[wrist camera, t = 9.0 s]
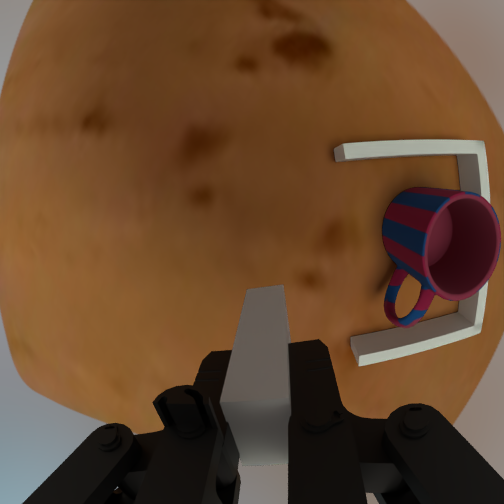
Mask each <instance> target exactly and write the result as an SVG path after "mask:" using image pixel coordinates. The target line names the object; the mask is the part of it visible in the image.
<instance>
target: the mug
mask: <svg viewBox="0 0 504 504" xmlns="http://www.w3.org/2000/svg"><path fill="white" fill-rule="evenodd" d="M382 236H383V243H384V246H385V249H386V251H387V253H388V255H389V256H390V258H391V259H392V260H393V261H394V262H395V263H396V264H397V268H396V270H395V271H394V274H393V276H392V278H391V280H390V283H389V285H388V288H387V291H386V295H385V299H384V311H385V314H386V316H387V318H388V319H389V320H390V321H391V322H392V323H393V324H394V325H396V326H398V327H401V328H410V327H412V326H414V325H415V324H416V323H418V322H419V321H420V319H421V318H422V317H423V316H424V314H425V313H426V311H427V310H428V308H429V306H430V304H431V302H432V300H433V298H434V295H438V296H440V297H442V298H443V299H446V300H450V301H459V300H464V299H466V298H469V297H471V296H472V295H474V294H475V293H477V292H478V291H479V290H480V289H481V288H482V287H483V286H484V285H485V284H486V283H487V281H488V280H489V278H490V277H491V275H492V273H493V271H494V269H495V267H496V264H497V261H498V258H499V253H500V246H501V231H500V225H499V221H498V218H497V215H496V213H495V211H494V209H493V207H492V206H491V204H490V203H489V202H488V201H487V200H486V199H485V198H484V197H482V196H481V195H479V194H477V193H473V192H468V191H459V190H449V189H439V188H427V187H414V188H409V189H407V190H405V191H403V192H402V193H400V194H399V195H398V196H397V197H396V198H395V199H394V200H393V201H392V202H391V204H390V205H389V207H388V209H387V211H386V214H385V217H384V220H383V227H382ZM408 274H410V275H411V276H413V277H414V278H415V279H417V280H418V281H419V282H420V283H421V285H422V286H421V291H420V296H419V299H418V301H417V303H416V305H415V306H414V308H413V309H412V311H411V312H410V313H409V314H408V315H407V316H405V317H403V318H398V317H397V315H396V313H395V300H396V297H397V293H398V291H399V288H400V286H401V284H402V282H403V281H404V279H405V277H406V276H407V275H408Z"/></svg>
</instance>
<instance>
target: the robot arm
mask: <svg viewBox="0 0 504 504" xmlns="http://www.w3.org/2000/svg"><path fill="white" fill-rule="evenodd" d="M198 372H199V373H197V376H196V379H195V382H194V384H193V386H192V385H182V386H176V387H173V388H170V389H167V390H165V391H164V392H163V393H161V394H160V395H158V396H157V397H156V399H155V400H154V401H153V405H154V407H155V409H156V411H157V413H158V415H159V417H160V419H161V421H162V422H163V424H164V426H165V427H164V429H163V430H161V431H157V432H152V433H145V434H138V435H134V434H133V433H132V431H131V429H130V428H128V427H127V426H125V425H124V424H119V423H111V424H106V425H103V426H101V427H99V428H97V429H96V430H95V431H93V432H92V433H91V434H90V435H89V436H88V437H87V438H86V439H85V440H84V441H83V442H82V443H81V445H80V446H79V447H78V448H77V449H76V450H75V451H74V452H73V453H72V454H71V455H70V456H69V457H68V458H67V459H66V460H65V461H64V462H63V463H62V464H61V465H60V466H59V467H58V468H57V469H56V470H55V471H54V472H53V473H52V474H51V475H50V476H49V477H48V478H47V479H46V480H45V481H44V482H43V483H42V484H41V485H40V487H38V488H37V489H36V490H35V491H34V492H33V493H32V494H31V495H30V496H29V497H28V498H27V499H26V500H25V501H24V502H23V504H238V499H239V491H240V484H241V481H240V475H239V473H238V462H239V458H240V460H241V463H242V466H261V465H279V464H288V504H367V499H366V493H373V494H374V495H375V497H376V499H377V501H378V502H379V504H504V479H503V478H502V477H501V476H500V475H499V474H498V473H497V472H496V471H495V470H494V469H493V468H492V467H491V466H490V465H489V463H488V462H487V461H486V460H485V459H484V458H483V457H482V456H481V455H480V454H479V453H478V452H477V451H476V450H475V449H474V448H473V446H472V445H470V443H468V441H467V440H466V439H465V438H464V437H463V436H462V435H461V434H460V433H459V432H458V431H457V430H456V429H455V428H454V427H453V426H452V425H451V423H450V422H449V421H448V420H447V419H446V418H445V417H444V416H443V415H442V414H441V413H440V412H439V411H437V410H436V409H434V408H433V407H432V406H429V405H425V404H421V403H419V404H408V405H404V406H401V407H399V408H398V409H396V410H395V411H393V412H392V413H391V414H390V416H389V417H388V418H387V419H370V418H362V417H359V416H356V415H354V414H352V413H350V412H349V411H347V409H346V408H345V407H344V406H343V404H342V402H341V398H340V394H339V390H338V386H337V382H336V378H335V374H334V370H333V366H332V362H331V359H330V354H329V351H328V347H327V346H326V345H325V344H324V343H322V342H321V341H320V340H319V339H317V340H310V341H303V342H295V343H291V339H290V331H289V323H288V316H287V308H286V301H285V294H284V286H283V285H276V286H269V287H261V288H253V289H247V291H246V295H245V299H244V303H243V308H242V312H241V316H240V320H239V324H238V328H237V333H236V337H235V341H234V345H233V349H232V350H226V351H211V352H210V353H209V354H208V355H207V356H206V357H205V358H204V359H203V360H202V363H201V365H200V368H199V371H198ZM117 486H118V487H119V488H117ZM116 488H117V489H116ZM115 489H116V490H115Z"/></svg>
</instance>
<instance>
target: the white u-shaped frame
mask: <svg viewBox="0 0 504 504" xmlns="http://www.w3.org/2000/svg"><path fill="white" fill-rule="evenodd" d="M334 155H335V161H336V162H343V161H354V160H365V159H378V158H393V157H412V156H441V155H457V161H458V169H459V179H460V190H461V191H468V192H473V193H477V194H479V195H481V196H482V197H484V198H485V199H486V200H487V201H488V202H489V203H490V190H489V177H488V167H487V159H486V151H485V144H484V141H476V140H392V141H372V142H357V143H345V144H341V145H340V146H338V147H336V148H334ZM487 286H488V281H487V283H486V284H485V285H484V286H483V287H482V288H481V289H480V290H479V291H478V292H477V293H475V294H474V295H472V296H471V297H469V298H466V299H464V300H459V307H458V312H456V313H452V314H449V315H445V316H441V317H438V318H434V319H430V320H426V321H422V322H418V323H416V324H415V325H414V326H412V327H410V328H401V327H397V328H392V329H388V330H383V331H378V332H373V333H368V334H363V335H358V336H352V337H351V349H352V351H353V353H354V356H355V358H356V361H357V363H358V365H359V366H363V365H368V364H373V363H377V362H382V361H386V360H390V359H395V358H399V357H403V356H407V355H411V354H414V353H418V352H422V351H425V350H429V349H432V348H436V347H439V346H442V345H446V344H449V343H452V342H455V341H458V340H461V339H464V338H467V337H470V336H473V335H476V334H478V333H481V327H482V322H483V316H484V310H485V303H486V295H487Z"/></svg>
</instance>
